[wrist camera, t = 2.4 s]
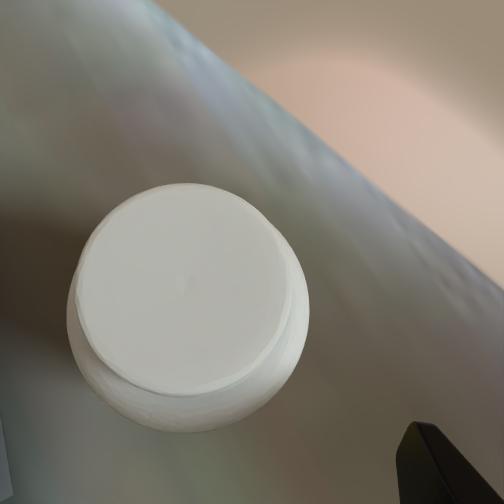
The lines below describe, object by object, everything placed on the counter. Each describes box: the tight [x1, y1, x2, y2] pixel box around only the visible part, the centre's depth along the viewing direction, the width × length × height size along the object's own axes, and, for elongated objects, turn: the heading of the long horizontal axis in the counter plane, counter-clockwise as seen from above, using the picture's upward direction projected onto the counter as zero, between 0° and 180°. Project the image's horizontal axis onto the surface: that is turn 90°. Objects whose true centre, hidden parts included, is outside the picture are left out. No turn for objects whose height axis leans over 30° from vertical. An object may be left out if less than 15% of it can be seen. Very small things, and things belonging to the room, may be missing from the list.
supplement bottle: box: [67, 183, 309, 433], centre depth 13 cm, size 6×6×10 cm
